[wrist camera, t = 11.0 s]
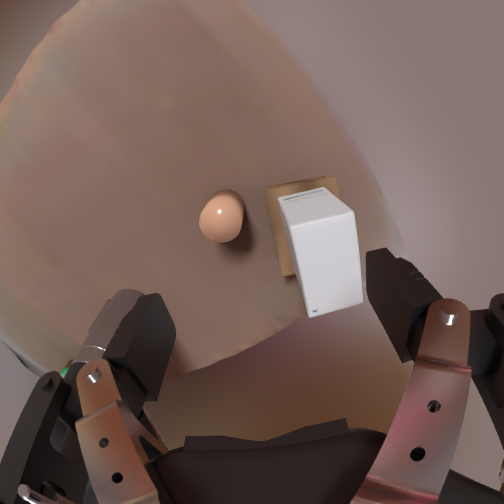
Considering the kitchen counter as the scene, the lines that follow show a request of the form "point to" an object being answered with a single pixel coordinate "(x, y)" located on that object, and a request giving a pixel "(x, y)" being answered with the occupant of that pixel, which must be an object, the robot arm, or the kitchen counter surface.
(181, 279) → the kitchen counter surface
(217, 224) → the peach rounded knob
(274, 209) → the stand
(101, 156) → the kitchen counter surface
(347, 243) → the skincare box
